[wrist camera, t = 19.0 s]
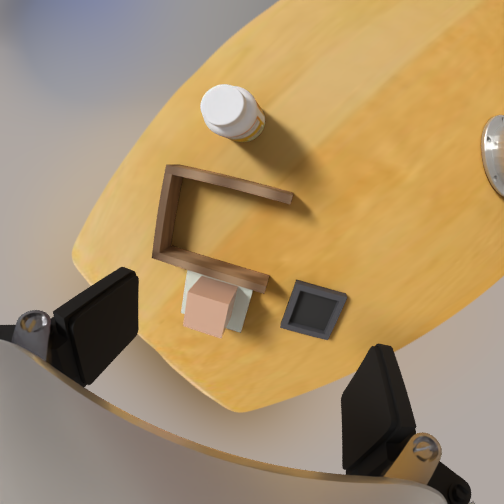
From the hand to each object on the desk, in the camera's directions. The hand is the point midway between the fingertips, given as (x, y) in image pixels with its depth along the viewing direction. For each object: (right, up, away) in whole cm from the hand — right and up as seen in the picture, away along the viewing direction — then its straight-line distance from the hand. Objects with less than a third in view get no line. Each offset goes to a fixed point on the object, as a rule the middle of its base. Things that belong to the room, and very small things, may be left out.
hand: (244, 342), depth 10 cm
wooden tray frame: (-3, +7, +25) cm, 26 cm away
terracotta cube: (-4, -3, +26) cm, 27 cm away
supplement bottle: (-1, +19, +21) cm, 28 cm away
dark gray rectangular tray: (+8, -4, +26) cm, 28 cm away
